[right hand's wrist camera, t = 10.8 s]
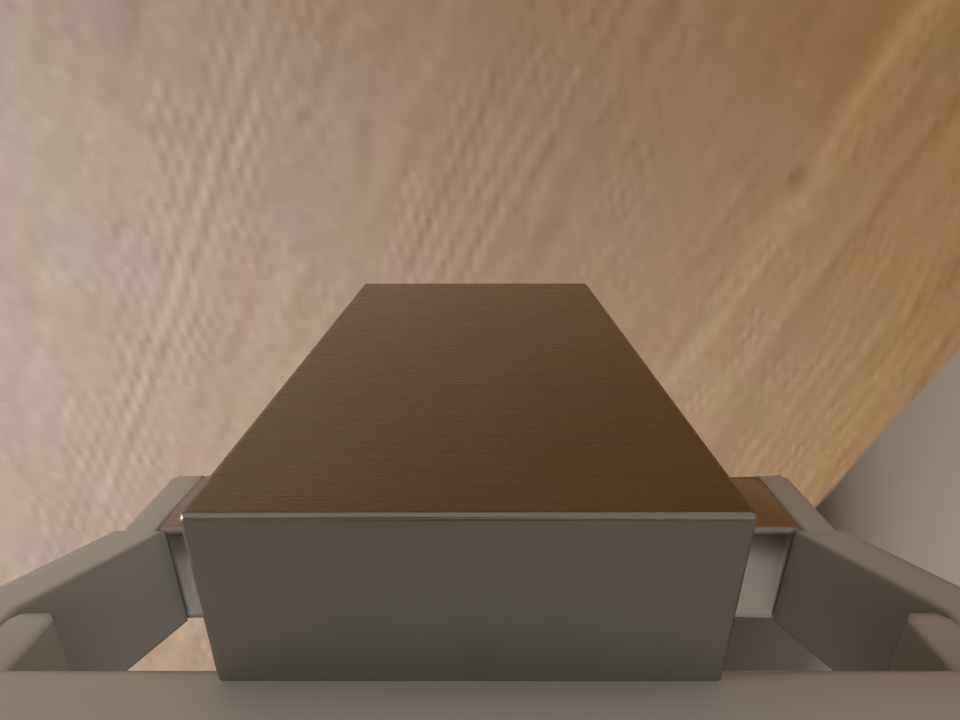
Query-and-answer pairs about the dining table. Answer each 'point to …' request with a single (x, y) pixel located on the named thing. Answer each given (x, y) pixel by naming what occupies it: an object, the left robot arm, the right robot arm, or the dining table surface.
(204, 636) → the dining table surface
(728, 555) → the bar
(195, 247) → the dining table surface
